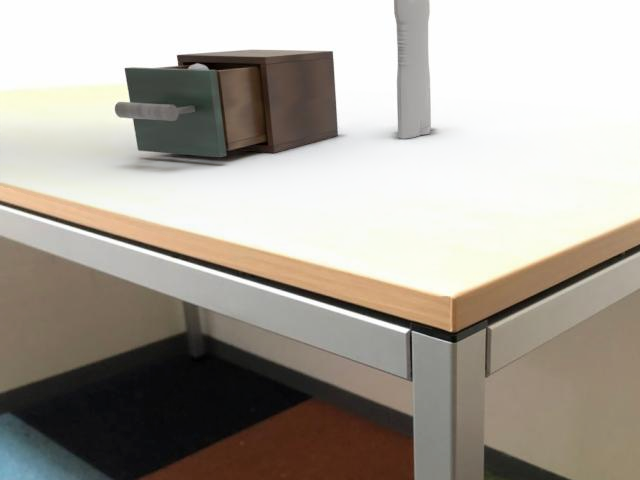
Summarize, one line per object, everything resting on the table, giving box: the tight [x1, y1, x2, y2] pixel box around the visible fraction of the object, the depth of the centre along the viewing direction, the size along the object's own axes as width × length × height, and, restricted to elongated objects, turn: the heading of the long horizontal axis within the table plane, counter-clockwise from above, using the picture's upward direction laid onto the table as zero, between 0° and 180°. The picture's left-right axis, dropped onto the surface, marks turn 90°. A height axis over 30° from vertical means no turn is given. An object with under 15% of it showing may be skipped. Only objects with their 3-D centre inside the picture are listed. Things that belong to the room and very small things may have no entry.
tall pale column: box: [393, 0, 432, 140], centre depth 97 cm, size 11×4×22 cm, turn 162°
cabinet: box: [176, 49, 339, 154], centre depth 94 cm, size 15×13×11 cm
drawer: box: [114, 63, 268, 158], centre depth 84 cm, size 18×11×9 cm, turn 157°
